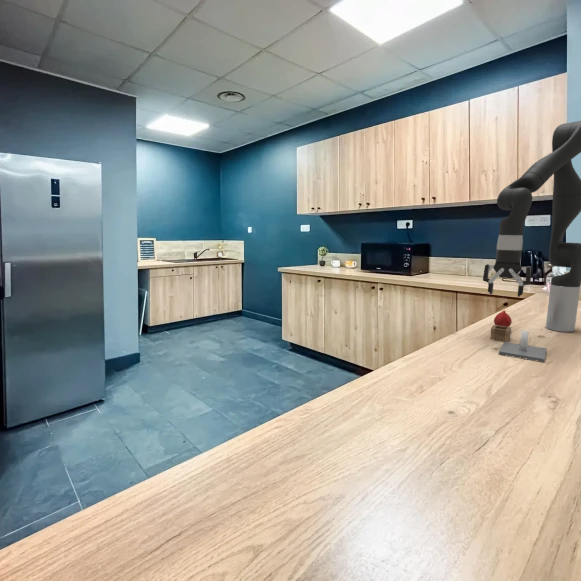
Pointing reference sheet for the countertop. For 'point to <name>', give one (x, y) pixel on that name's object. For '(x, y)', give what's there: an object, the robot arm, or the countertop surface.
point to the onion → (502, 319)
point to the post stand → (523, 349)
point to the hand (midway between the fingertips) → (504, 295)
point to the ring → (500, 333)
